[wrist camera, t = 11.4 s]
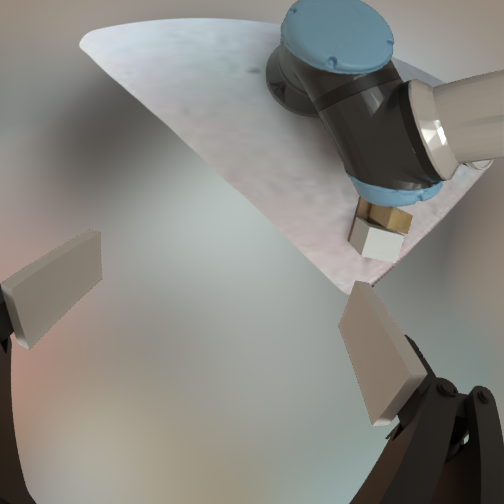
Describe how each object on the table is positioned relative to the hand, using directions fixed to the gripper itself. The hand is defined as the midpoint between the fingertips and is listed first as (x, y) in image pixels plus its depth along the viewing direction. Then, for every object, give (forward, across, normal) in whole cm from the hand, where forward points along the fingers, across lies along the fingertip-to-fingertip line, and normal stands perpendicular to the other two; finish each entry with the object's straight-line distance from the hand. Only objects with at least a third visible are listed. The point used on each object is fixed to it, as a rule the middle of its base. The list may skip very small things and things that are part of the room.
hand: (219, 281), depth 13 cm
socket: (+37, +23, -4) cm, 43 cm away
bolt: (+36, +23, +3) cm, 42 cm away
